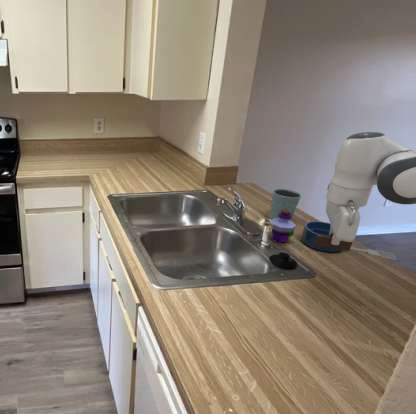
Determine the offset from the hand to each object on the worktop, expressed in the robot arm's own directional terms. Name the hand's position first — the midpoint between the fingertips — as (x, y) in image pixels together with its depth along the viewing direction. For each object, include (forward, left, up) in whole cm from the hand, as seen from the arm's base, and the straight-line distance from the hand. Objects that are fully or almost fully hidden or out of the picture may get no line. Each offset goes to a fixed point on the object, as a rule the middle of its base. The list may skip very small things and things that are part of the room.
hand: (333, 241), depth 92 cm
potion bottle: (+10, -26, -15) cm, 32 cm away
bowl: (-4, -29, -15) cm, 33 cm away
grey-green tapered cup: (+9, -46, -15) cm, 50 cm away
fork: (-4, 0, -2) cm, 4 cm away
